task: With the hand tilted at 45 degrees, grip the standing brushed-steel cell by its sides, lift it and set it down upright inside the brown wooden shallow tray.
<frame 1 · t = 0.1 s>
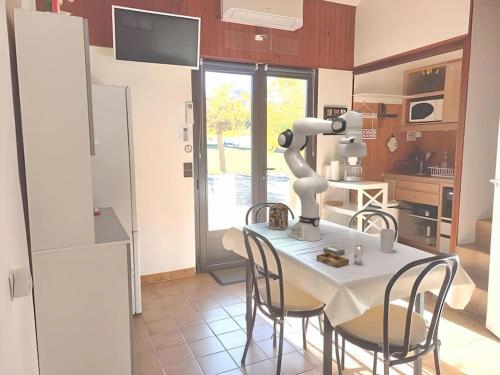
hand: (352, 165, 204), 48 cm above the table, tool pointing down, fingers open, 8 cm apart
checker: (333, 253, 204), on the table
decorative jar: (278, 228, 261), on the table
cup: (386, 251, 208), on the table
steel cell: (358, 263, 187), on the table
brown wooden shallow tray: (332, 262, 188), on the table
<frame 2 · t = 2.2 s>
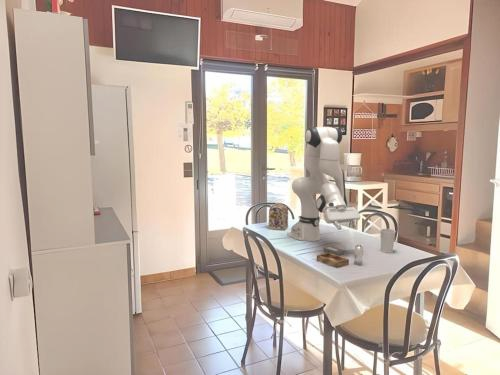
hand: (347, 228, 195), 16 cm above the table, tool tilted 45°, fingers open, 8 cm apart
nothing on the table moved.
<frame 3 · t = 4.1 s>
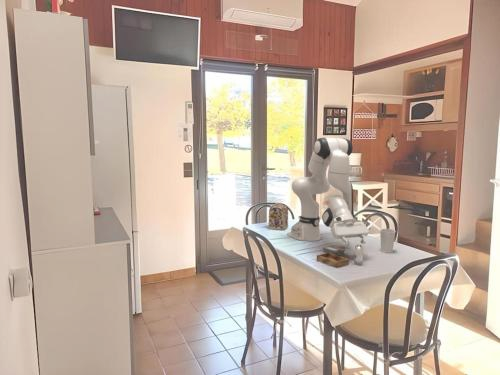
hand: (355, 243, 188), 10 cm above the table, tool tilted 45°, fingers open, 8 cm apart
nothing on the table moved.
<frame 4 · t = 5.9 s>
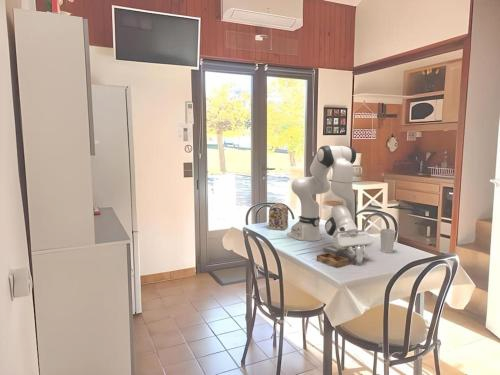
hand: (359, 254, 185), 5 cm above the table, tool tilted 45°, fingers closed on steel cell, 4 cm apart
steel cell: (358, 263, 187), on the table, touching gripper
everything else where it was.
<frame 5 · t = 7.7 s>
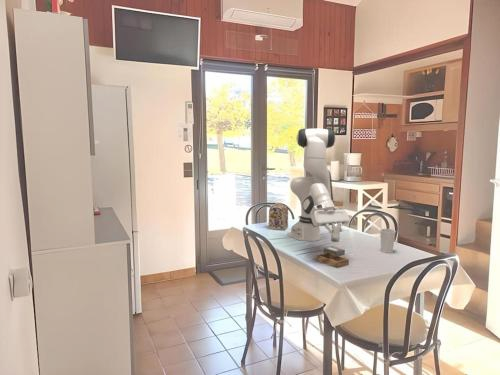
hand: (336, 231, 186), 16 cm above the table, tool tilted 45°, fingers closed on steel cell, 4 cm apart
steel cell: (335, 240, 187), point 11 cm above the table, touching gripper
everything else where it was.
when the fingers open (7 cm above the table, at t = 9.8 s): steel cell drops 1 cm, resting on brown wooden shallow tray.
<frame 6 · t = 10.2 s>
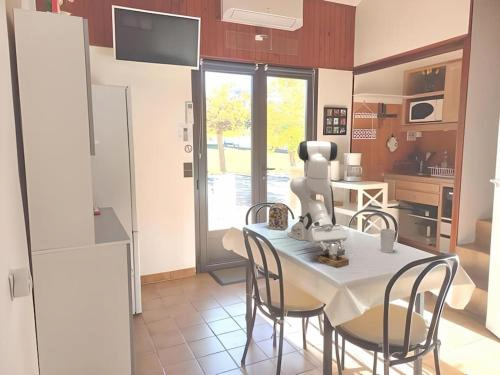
hand: (333, 249, 187), 7 cm above the table, tool tilted 45°, fingers open, 8 cm apart
steel cell: (332, 261, 188), point 1 cm above the table, touching brown wooden shallow tray
everything else where it was.
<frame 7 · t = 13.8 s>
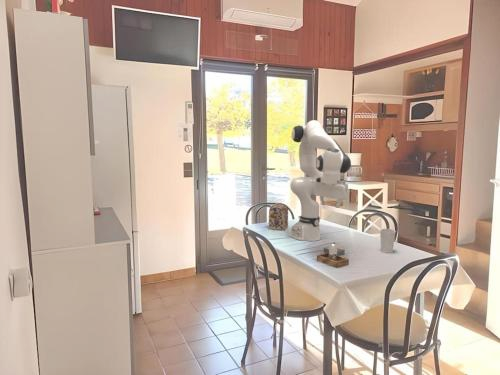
hand: (330, 206, 194), 27 cm above the table, tool pointing down, fingers open, 8 cm apart
nothing on the table moved.
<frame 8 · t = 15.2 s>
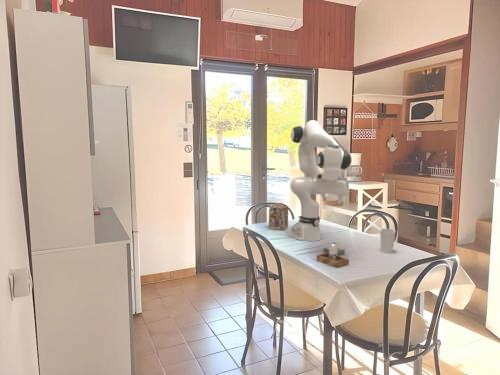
hand: (331, 202, 195), 29 cm above the table, tool pointing down, fingers open, 8 cm apart
nothing on the table moved.
at the end: steel cell inside the target area on the brown wooden shallow tray (0.1 cm from its centre), point 0.8 cm above the brown wooden shallow tray's base; steel cell tilted 0°; the gripper is holding nothing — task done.
